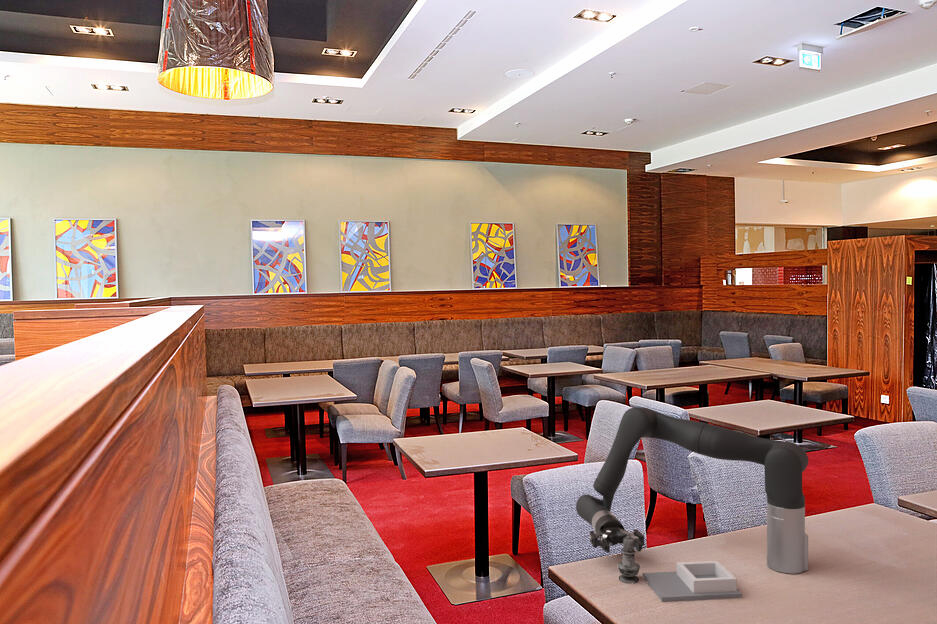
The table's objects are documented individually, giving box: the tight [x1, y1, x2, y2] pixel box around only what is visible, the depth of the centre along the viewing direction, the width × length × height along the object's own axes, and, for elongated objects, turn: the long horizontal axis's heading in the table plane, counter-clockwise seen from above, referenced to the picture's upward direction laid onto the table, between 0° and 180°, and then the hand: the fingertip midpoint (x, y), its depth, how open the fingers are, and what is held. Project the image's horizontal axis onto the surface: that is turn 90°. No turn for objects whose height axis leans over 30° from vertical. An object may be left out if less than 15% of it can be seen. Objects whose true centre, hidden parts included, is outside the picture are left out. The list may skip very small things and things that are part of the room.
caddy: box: [642, 560, 743, 602], centre depth 171 cm, size 20×14×4 cm
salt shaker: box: [616, 534, 641, 585], centre depth 176 cm, size 6×6×12 cm
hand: (624, 548), depth 180 cm, fingers open, 8 cm apart
